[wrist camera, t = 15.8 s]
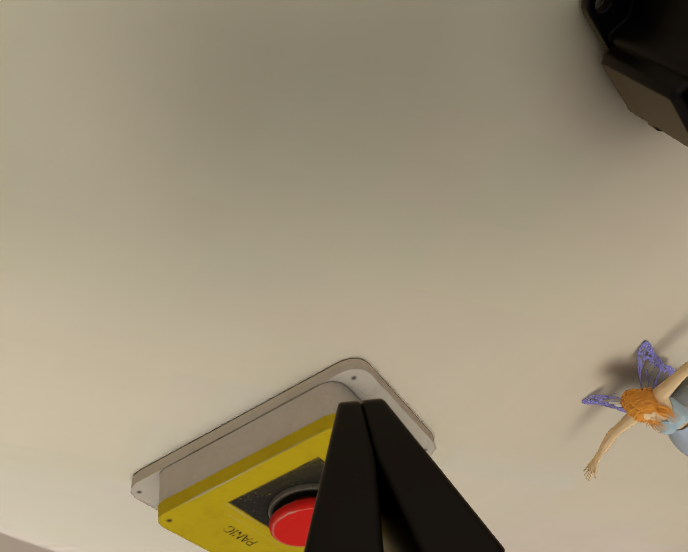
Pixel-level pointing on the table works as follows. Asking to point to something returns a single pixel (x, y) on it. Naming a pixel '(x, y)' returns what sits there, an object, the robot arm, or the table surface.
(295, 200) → the table surface
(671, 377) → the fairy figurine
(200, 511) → the emergency button
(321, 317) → the table surface
